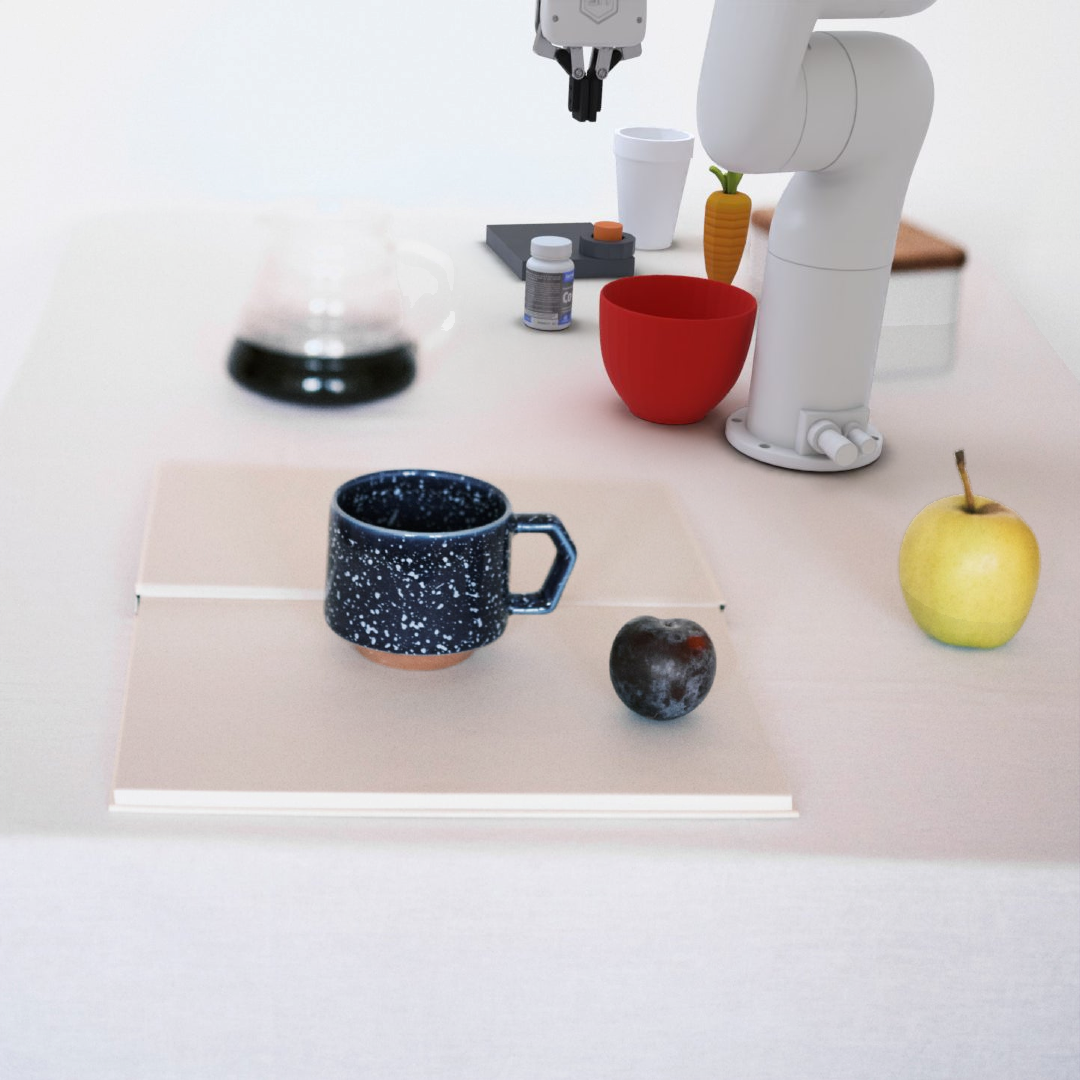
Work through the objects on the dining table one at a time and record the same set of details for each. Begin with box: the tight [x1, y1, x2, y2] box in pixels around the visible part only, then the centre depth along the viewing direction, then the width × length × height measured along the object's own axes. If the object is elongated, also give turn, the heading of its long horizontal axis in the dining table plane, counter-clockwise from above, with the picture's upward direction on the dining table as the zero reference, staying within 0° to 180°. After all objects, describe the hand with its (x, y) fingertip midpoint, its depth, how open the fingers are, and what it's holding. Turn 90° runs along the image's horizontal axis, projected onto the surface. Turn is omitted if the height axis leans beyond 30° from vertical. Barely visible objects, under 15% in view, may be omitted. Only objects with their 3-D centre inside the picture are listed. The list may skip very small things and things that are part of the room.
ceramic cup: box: [598, 274, 758, 425], centre depth 117 cm, size 13×17×10 cm
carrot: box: [702, 165, 753, 285], centre depth 144 cm, size 5×5×15 cm
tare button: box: [593, 220, 623, 241], centre depth 153 cm, size 3×3×2 cm
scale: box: [485, 221, 636, 282], centre depth 158 cm, size 16×14×4 cm
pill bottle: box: [523, 236, 575, 331], centre depth 135 cm, size 5×5×8 cm
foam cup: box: [612, 125, 695, 251], centre depth 164 cm, size 10×9×13 cm
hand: (583, 119), depth 136 cm, fingers closed
